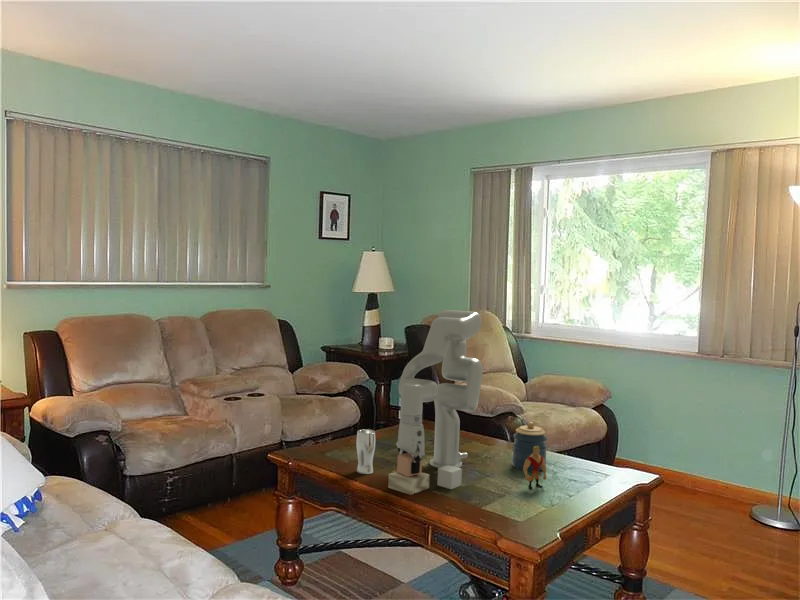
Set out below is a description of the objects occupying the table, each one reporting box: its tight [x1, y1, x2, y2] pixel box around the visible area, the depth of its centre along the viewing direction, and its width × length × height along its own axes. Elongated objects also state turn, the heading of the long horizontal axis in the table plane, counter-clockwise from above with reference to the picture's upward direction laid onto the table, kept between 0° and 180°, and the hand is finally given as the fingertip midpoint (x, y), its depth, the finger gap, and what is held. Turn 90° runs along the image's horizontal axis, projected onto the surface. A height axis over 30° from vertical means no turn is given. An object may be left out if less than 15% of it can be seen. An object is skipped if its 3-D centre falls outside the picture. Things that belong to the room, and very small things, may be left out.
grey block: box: [437, 465, 463, 490], centre depth 224 cm, size 6×6×6 cm
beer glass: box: [356, 428, 376, 475], centre depth 235 cm, size 7×7×15 cm
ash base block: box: [387, 471, 430, 496], centre depth 220 cm, size 10×10×5 cm
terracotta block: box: [396, 453, 423, 477], centre depth 220 cm, size 6×6×6 cm
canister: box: [511, 421, 548, 472], centre depth 248 cm, size 13×13×18 cm
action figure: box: [522, 446, 547, 490], centre depth 224 cm, size 10×4×15 cm, turn 114°
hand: (409, 470), depth 220 cm, fingers closed on terracotta block, 6 cm apart
